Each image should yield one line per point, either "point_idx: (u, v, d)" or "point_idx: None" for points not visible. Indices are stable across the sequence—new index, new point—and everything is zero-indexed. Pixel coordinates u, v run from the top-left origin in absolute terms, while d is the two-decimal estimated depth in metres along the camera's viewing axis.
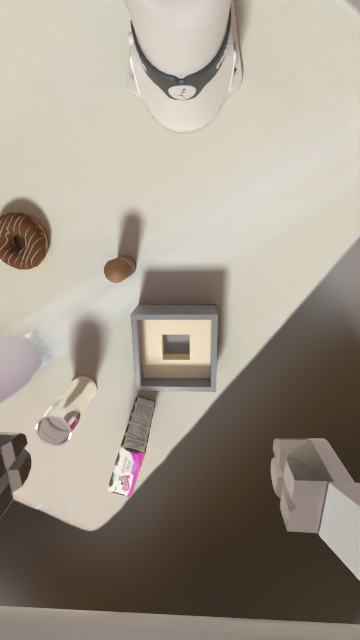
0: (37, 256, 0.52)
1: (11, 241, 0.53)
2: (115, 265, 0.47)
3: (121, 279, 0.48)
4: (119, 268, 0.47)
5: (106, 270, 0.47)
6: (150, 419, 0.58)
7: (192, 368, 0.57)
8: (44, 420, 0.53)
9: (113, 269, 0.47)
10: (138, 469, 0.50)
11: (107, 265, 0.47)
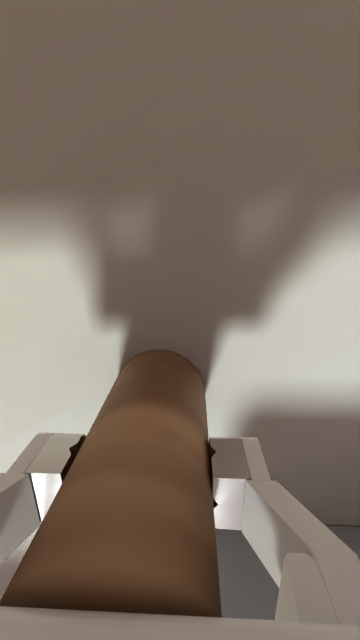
0: None
1: None
2: (112, 606, 0.04)
3: None
4: None
5: None
6: None
7: None
8: None
9: None
10: None
11: (29, 604, 0.05)
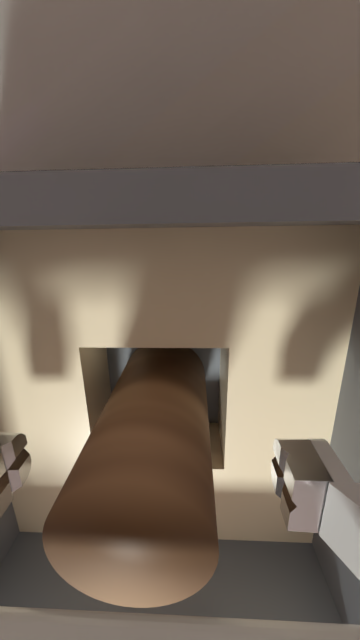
0: None
1: None
2: (134, 518, 0.06)
3: (172, 595, 0.07)
4: (162, 537, 0.06)
5: (60, 543, 0.06)
6: None
7: (234, 505, 0.12)
8: None
9: (116, 542, 0.06)
10: None
11: (70, 518, 0.06)
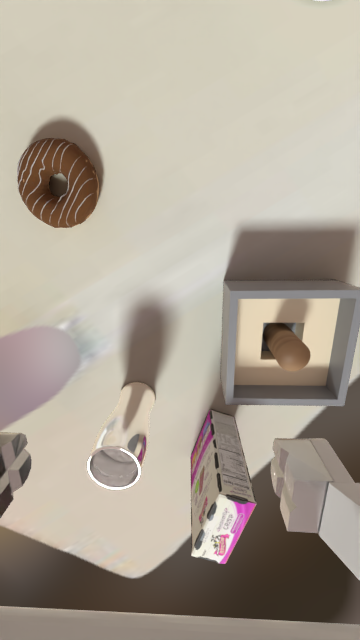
0: (84, 207, 0.35)
1: (46, 183, 0.36)
2: (295, 349, 0.33)
3: (300, 367, 0.34)
4: (300, 353, 0.33)
5: (280, 355, 0.34)
6: (240, 444, 0.41)
7: (302, 372, 0.40)
8: None
9: (291, 355, 0.34)
10: (243, 526, 0.33)
11: (283, 350, 0.33)
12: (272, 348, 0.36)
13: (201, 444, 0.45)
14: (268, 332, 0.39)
